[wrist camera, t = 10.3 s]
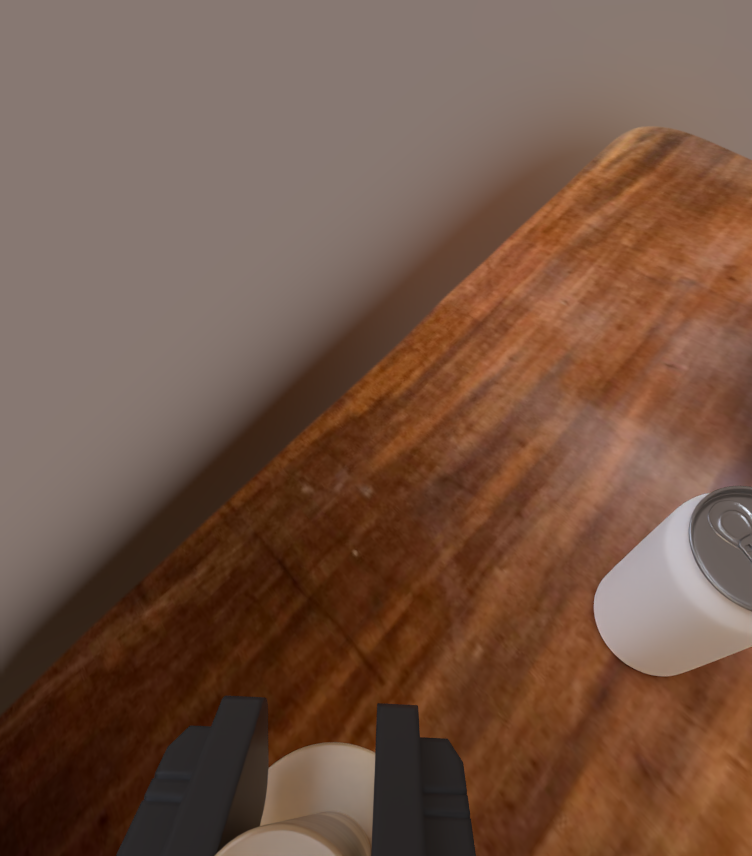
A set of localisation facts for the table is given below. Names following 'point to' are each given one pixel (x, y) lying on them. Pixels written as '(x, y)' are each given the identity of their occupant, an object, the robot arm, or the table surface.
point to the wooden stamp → (314, 805)
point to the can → (683, 588)
